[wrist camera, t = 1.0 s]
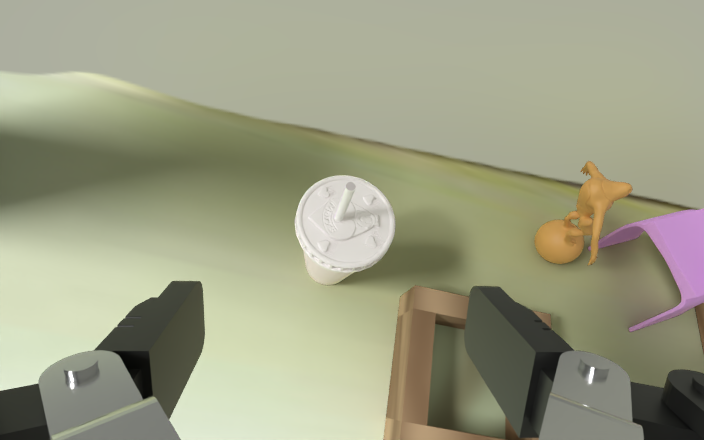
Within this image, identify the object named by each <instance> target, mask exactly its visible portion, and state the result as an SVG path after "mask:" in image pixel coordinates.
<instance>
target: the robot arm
mask: <svg viewBox="0 0 704 440" xmlns="http://www.w3.org/2000/svg"><path fill="white" fill-rule="evenodd" d="M204 337H205V326H204V305H203V288H202V284H201V282H200V281H172V282H171V283H170V284H169V285H168V287H167V288H166V289H165V290H164V291H163V292H162V294H161V295H160V296H159V297H158V298H150V299H148V300H146V301H144V302H142V303H140V304H138V305H137V306H135V307H134V308H133V309H132V310H131V311H130V312H129V313H128V315H127V316H126V318H125V319H123V320H122V321H121V322H120V323H119V324H118V327H115V328H114V329H113V331H112V332H111V333H110V334H109V335H108V336H107V337H106V338H105V339H104V340H103V341H102V342H101V343H100V344H99V345H98V347H97V348H96V349H95V350H94V351H88V352H82V353H78V354H75V355H72V356H69V357H66V358H64V359H62V360H60V361H58V362H56V363H54V364H53V365H51V366H50V367H49V368H47V369H46V370H45V371H44V372H43V373H42V375H41V376H40V378H39V384H34V385H30V386H24V387H19V388H14V389H8V390H3V391H0V440H181V439H180V438H179V436H178V434H177V432H176V431H175V429H174V427H173V426H172V424H171V422H170V421H169V419H170V417H171V415H172V412H173V410H174V408H175V406H176V404H177V402H178V400H179V398H180V396H181V394H182V392H183V390H184V388H185V386H186V384H187V381H188V379H189V377H190V375H191V373H192V371H193V369H194V367H195V365H196V363H197V361H198V359H199V357H200V355H201V352H202V349H203V345H204ZM464 342H465V348H466V351H467V354H468V355H469V357H470V359H471V360H472V362H473V364H474V365H475V367H476V368H477V370H478V372H479V373H480V375H481V377H482V378H483V380H484V381H485V383H486V385H487V386H488V388H489V390H490V391H491V393H492V394H493V396H494V398H495V399H496V401H497V403H498V404H499V406H500V408H501V409H502V411H503V412H504V414H505V416H506V417H507V419H508V421H509V422H510V424H511V425H512V427H513V429H514V430H515V432H516V434H517V435H518V437H519V438H539V439H538V440H704V374H703V373H700V372H696V371H690V370H673V371H671V372H669V374H668V377H667V380H666V383H665V387H664V388H660V387H655V386H649V385H644V384H639V383H634V382H630V377H629V375H628V374H627V372H626V371H625V370H624V369H623V368H621V367H620V366H619V365H617V364H616V363H614V362H612V361H611V360H609V359H607V358H604V357H602V356H599V355H596V354H593V353H589V352H584V351H575V350H573V349H572V348H571V347H570V346H569V345H568V344H567V343H566V342H565V341H564V340H563V339H562V338H561V337H560V336H559V335H557V334H556V333H555V332H554V331H553V330H551V328H550V327H549V326H548V325H547V324H546V323H545V322H542V320H541V319H540V318H539V317H538V316H537V315H536V314H535V313H534V312H533V311H532V310H530V309H528V308H526V307H524V306H522V305H520V304H519V303H516V302H515V301H513V300H512V299H511V298H510V297H509V296H508V295H507V294H506V293H505V292H504V291H503V290H502V289H501V288H500V287H492V286H474V287H473V288H472V289H471V292H470V296H469V303H468V310H467V318H466V325H465V332H464Z"/></svg>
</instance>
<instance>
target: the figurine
mask: <svg viewBox="0 0 704 440" xmlns="http://www.w3.org/2000/svg"><path fill="white" fill-rule="evenodd" d="M582 171H583V174H584V173H585V172H586V175H587V174H588V173H589V175H591V179H589V180H587V181H586V182H585V183H584V184H583V185H582V187H581V189H580V192H579V197H578V201H577V205H576V207H577V211H572V212H570V213H569V214H568V216H566V217H565V219H564V220H552V221H549V222H547V223H545V224H544V225H542V226H541V227H540V228H539V230H538V231H537V233H536V236H535V247H536V249H537V251H538V253H539V254H540V255H541V256H542V257H543V258H544V259H545V260H547V261H549V262H552V263H556V264H564V263H568V262H571V261H573V260H575V259H576V258H577V257H578V256H579V255H580V254H581V252H582V250H583V247H584V237H583V235H592V239H591V258H590V261H589V263H588V265H589V264H590V265H592V264H593V263H594V262H595V260H596V258H598V257H597V253H598V241H599V238H600V232H601V229H602V225H603V220H604V215H605V213H606V211H607V210H609V209H610V208H611V206H612V204H613V202H614V201H616V200H618V199H621V198H624V197H626V196H627V195H628V194H629V193H631V191H632V186H631V185H630V184H628V183H624V182H614V181H610V180H608V179H606V178H605V177H604V176H603V175H602V174H601V173H600V172H599V171H598V169H597V167H596V166H595V165H594V164H593V163H592V162H591V161H588V162H587V163H586V164H585V166H584V167H583V168H582V170H581V172H582ZM592 214H594V219H592V218H591V217H590V216H591V215H592ZM578 218H580V219H579V222H578V226H579V228H581V230H580V229H579V228H578V227H577V226H576V225H574V224H573V223H571V221H570V219H578Z"/></svg>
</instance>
